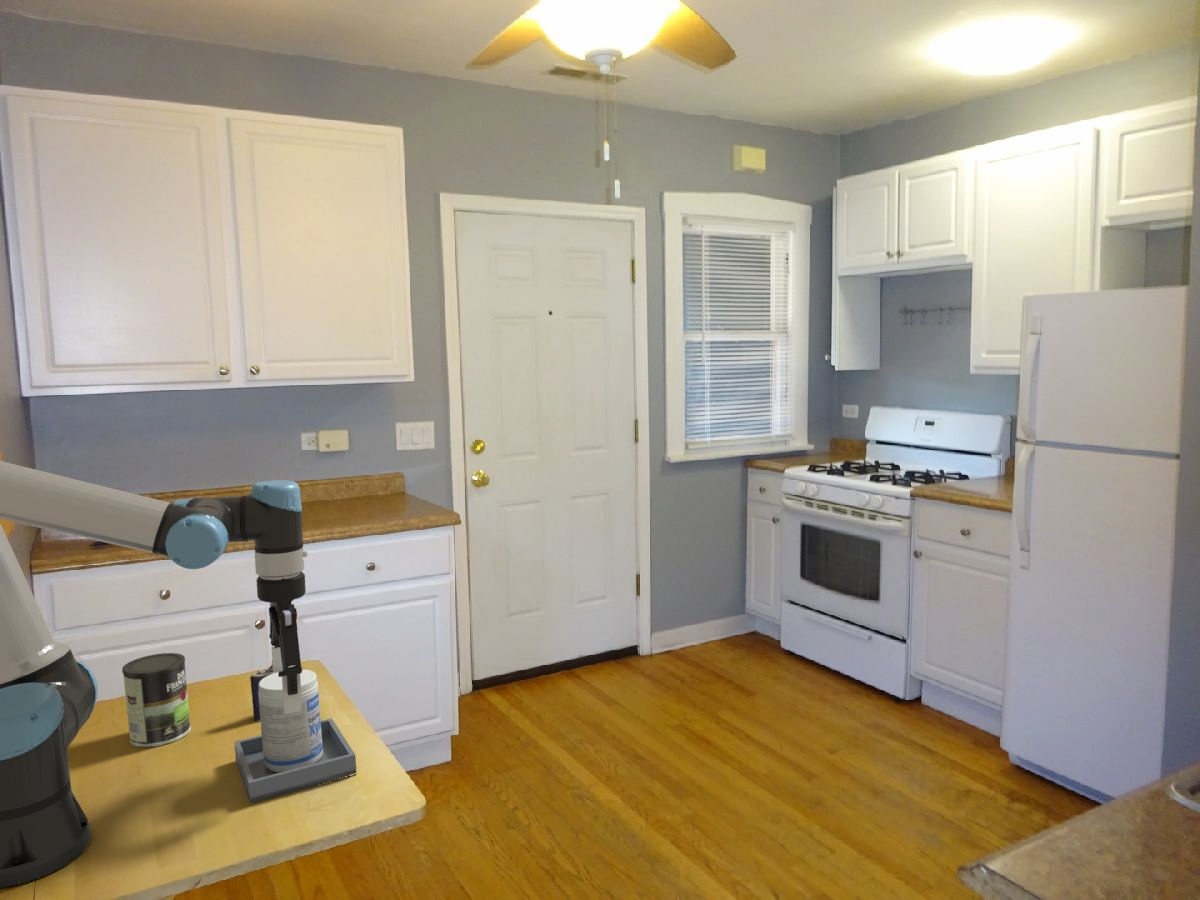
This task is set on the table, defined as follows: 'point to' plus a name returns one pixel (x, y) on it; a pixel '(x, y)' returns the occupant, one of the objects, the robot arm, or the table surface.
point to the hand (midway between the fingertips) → (287, 696)
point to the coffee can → (156, 699)
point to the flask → (255, 688)
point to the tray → (271, 784)
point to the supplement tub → (290, 724)
